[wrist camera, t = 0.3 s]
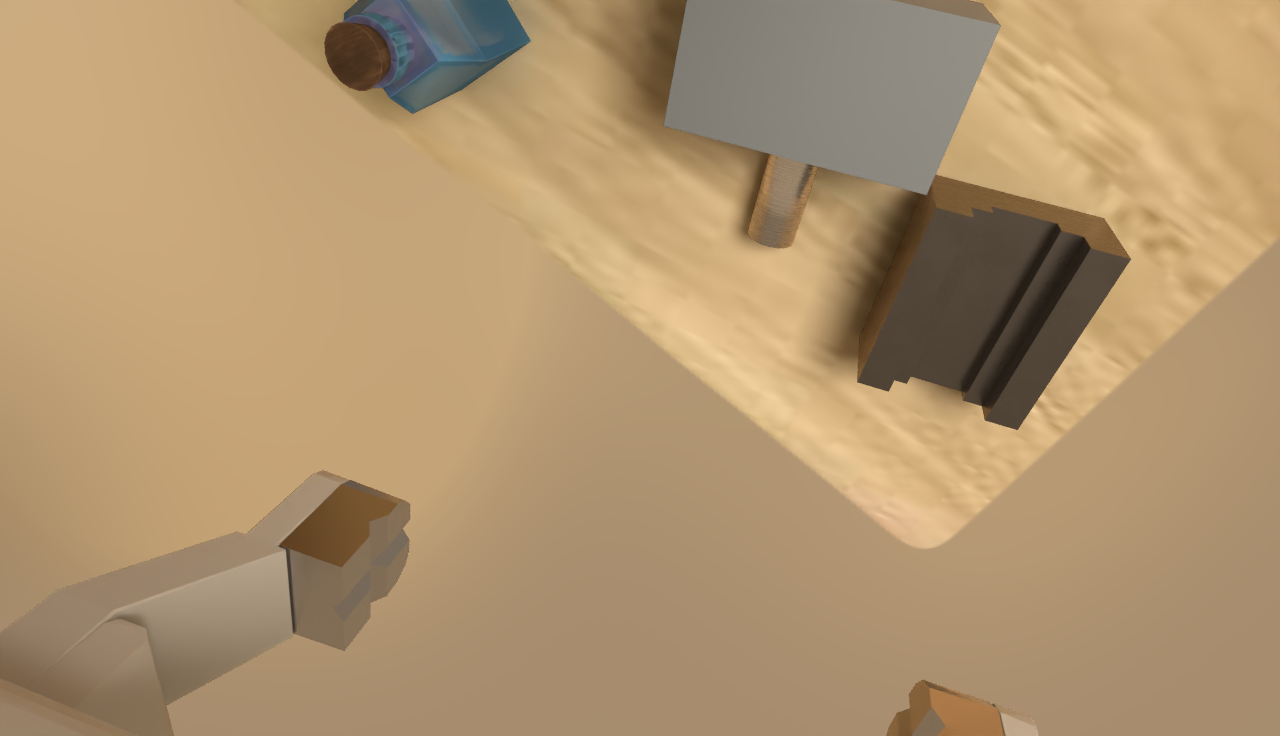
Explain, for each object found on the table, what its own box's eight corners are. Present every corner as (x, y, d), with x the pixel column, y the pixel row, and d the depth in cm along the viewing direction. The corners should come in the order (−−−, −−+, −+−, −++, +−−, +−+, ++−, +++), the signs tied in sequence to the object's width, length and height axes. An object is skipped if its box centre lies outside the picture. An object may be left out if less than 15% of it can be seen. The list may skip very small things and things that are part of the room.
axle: (804, 26, 39) (803, 37, 37) (857, 38, 39) (860, 49, 37) (749, 221, 47) (745, 240, 44) (793, 232, 46) (792, 252, 44)
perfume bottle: (461, 89, 47) (354, 142, 37) (403, -2, 45) (273, 30, 35) (530, 41, 44) (434, 85, 34) (472, -59, 42) (351, -42, 32)
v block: (930, 173, 42) (935, 207, 37) (1104, 218, 40) (1131, 259, 36) (859, 337, 49) (857, 382, 44) (1004, 379, 48) (1017, 430, 43)
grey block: (722, -56, 38) (695, -46, 33) (982, 3, 36) (1000, 25, 31) (691, 94, 43) (663, 126, 37) (920, 152, 41) (926, 195, 36)
